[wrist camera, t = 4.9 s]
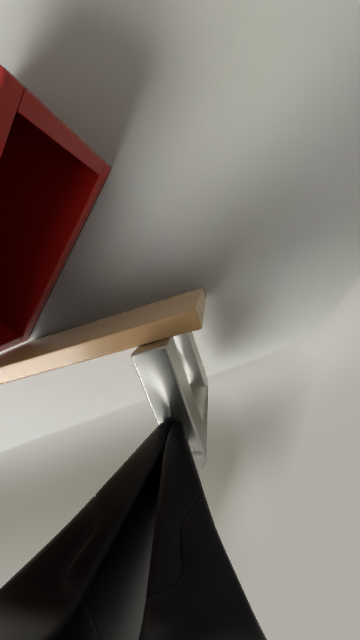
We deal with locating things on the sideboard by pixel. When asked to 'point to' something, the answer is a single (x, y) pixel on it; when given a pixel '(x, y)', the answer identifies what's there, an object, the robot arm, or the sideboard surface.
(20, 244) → the cabinet
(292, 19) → the sideboard surface
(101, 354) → the valve door
